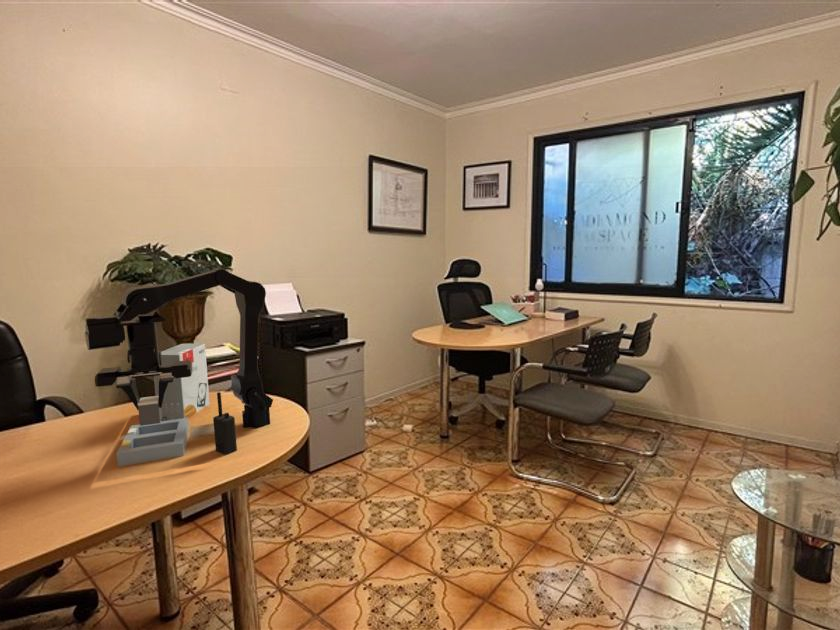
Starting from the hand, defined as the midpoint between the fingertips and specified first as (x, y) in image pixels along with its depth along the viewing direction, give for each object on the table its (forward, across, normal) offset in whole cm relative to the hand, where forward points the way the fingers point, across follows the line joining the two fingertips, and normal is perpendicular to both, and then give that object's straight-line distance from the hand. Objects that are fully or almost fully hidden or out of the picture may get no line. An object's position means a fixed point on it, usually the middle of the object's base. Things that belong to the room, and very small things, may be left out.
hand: (150, 408), depth 107 cm
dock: (+12, 0, -4) cm, 12 cm away
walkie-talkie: (+12, -16, +6) cm, 20 cm away
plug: (+3, 0, 0) cm, 3 cm away
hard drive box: (+12, -4, -26) cm, 29 cm away
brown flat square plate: (+12, -10, -9) cm, 18 cm away
